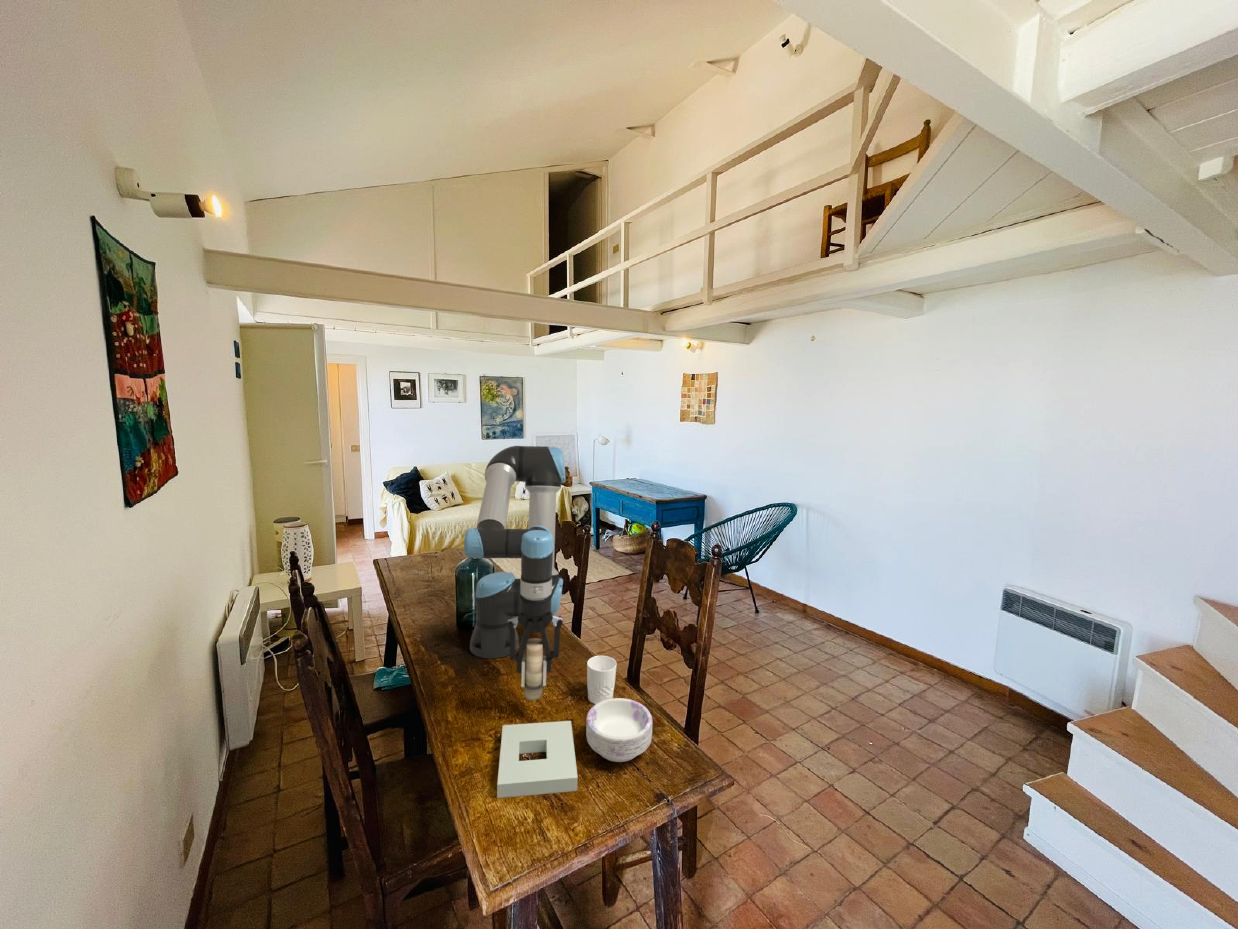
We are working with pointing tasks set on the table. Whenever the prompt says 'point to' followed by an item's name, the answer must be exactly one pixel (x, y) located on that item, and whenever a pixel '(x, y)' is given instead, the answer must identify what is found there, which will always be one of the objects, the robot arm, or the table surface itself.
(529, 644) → the maple dowel
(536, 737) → the socket board
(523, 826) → the table surface
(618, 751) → the paper bowls
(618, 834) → the table surface
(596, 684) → the white cup
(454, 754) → the table surface
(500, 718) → the table surface
